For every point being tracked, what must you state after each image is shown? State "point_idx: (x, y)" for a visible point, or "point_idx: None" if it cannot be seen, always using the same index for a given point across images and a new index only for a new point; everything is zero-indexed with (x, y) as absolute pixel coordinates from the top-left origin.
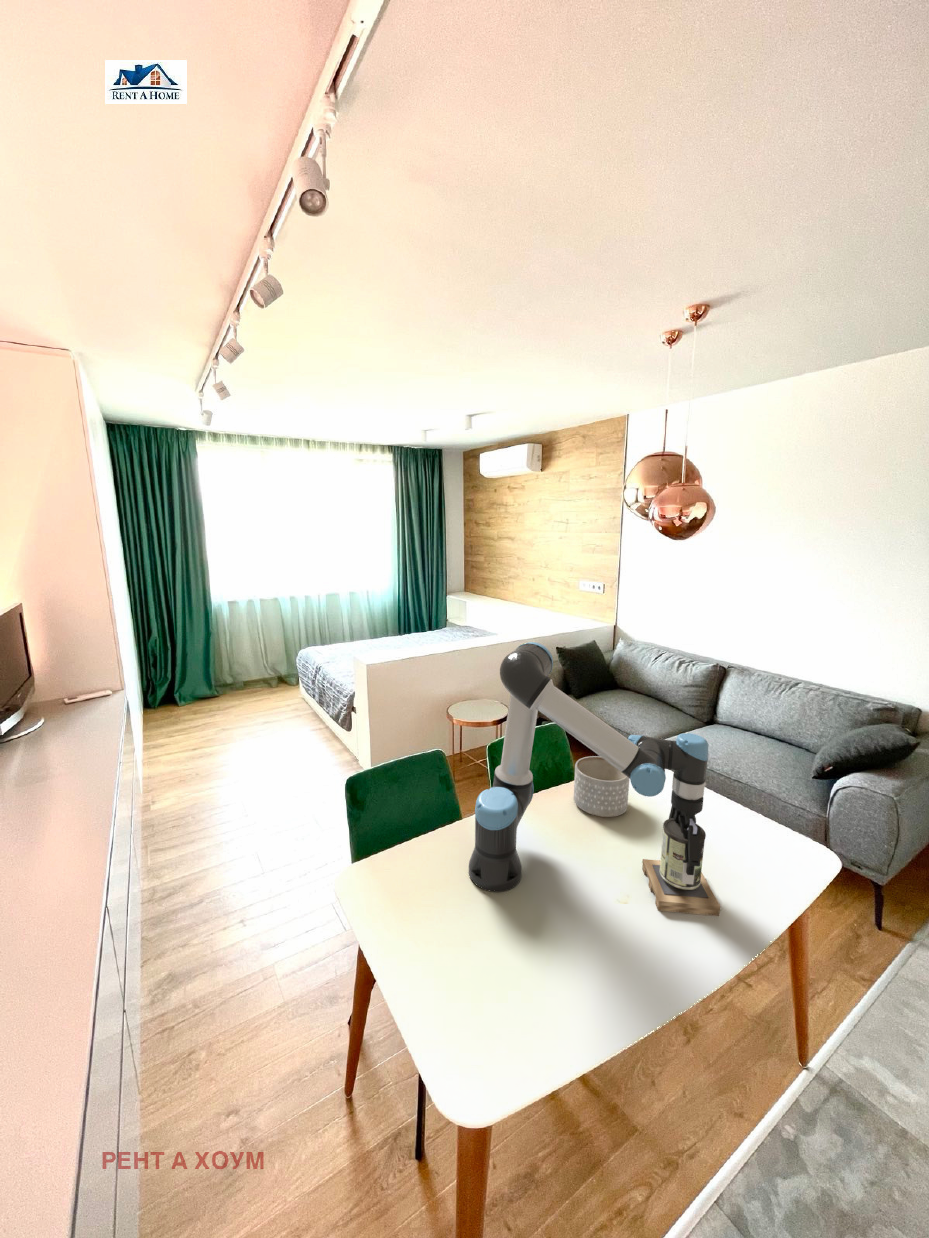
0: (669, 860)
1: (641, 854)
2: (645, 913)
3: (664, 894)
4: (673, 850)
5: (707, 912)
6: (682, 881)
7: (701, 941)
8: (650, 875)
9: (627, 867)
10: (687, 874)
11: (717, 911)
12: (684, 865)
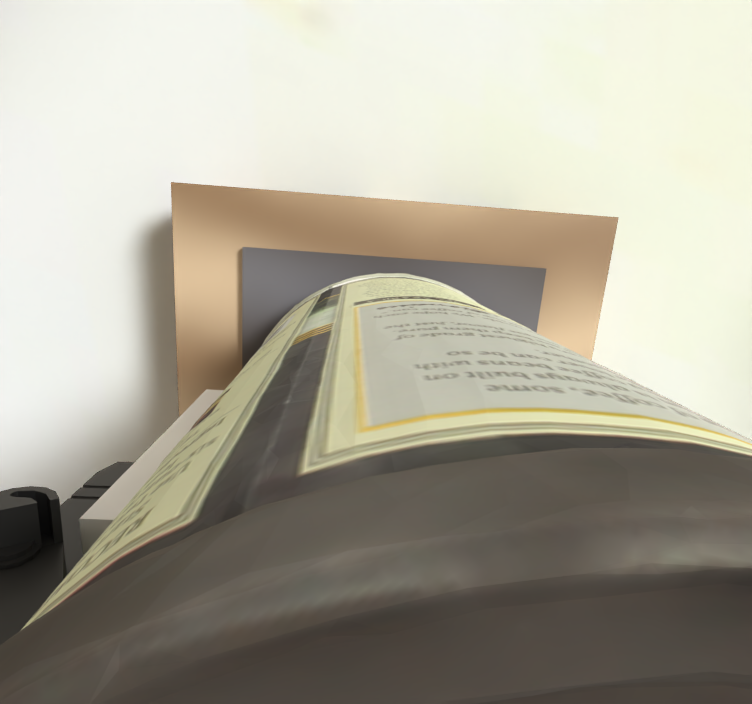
0: (281, 338)
1: (708, 265)
2: (168, 95)
3: (244, 248)
4: (194, 433)
5: None
6: (200, 395)
7: (11, 358)
8: (435, 213)
9: (592, 116)
10: (117, 462)
11: None
12: (120, 482)
